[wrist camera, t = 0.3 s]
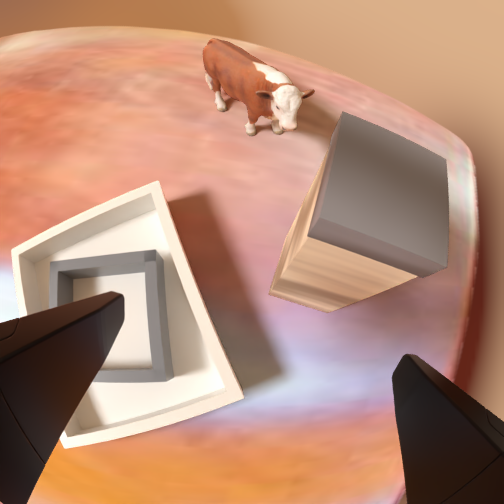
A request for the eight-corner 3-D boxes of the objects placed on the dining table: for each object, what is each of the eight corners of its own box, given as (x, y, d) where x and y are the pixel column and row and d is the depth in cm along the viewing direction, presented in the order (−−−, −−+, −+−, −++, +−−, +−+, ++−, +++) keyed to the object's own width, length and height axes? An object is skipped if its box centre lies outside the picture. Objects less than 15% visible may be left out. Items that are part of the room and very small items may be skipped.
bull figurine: (271, 176, 25) (287, 111, 18) (197, 91, 28) (191, 31, 20) (309, 156, 26) (333, 94, 19) (231, 78, 29) (233, 19, 21)
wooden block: (328, 314, 22) (447, 267, 9) (266, 295, 22) (319, 217, 9) (342, 255, 23) (445, 159, 10) (285, 236, 24) (342, 111, 10)
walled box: (242, 389, 20) (244, 398, 16) (84, 437, 17) (64, 448, 14) (167, 201, 24) (158, 180, 21) (33, 261, 21) (11, 249, 18)
